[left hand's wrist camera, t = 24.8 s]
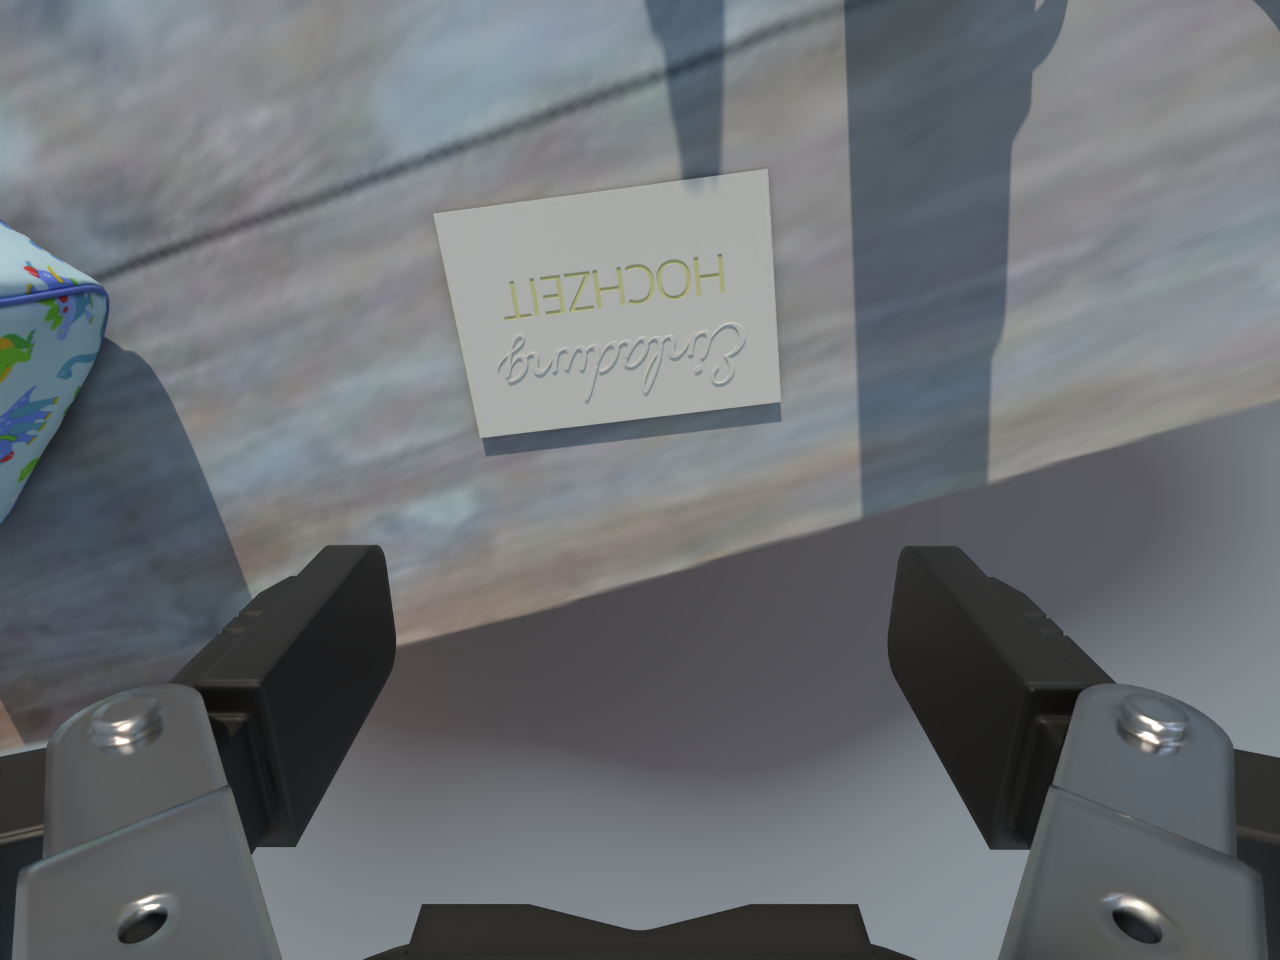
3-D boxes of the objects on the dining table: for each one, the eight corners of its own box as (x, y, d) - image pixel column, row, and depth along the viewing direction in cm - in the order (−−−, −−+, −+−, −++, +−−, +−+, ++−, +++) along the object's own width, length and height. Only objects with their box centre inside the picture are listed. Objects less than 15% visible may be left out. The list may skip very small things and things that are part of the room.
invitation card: (768, 168, 44) (781, 402, 50) (767, 168, 45) (780, 401, 50) (432, 213, 45) (479, 438, 50) (434, 213, 46) (480, 437, 51)
